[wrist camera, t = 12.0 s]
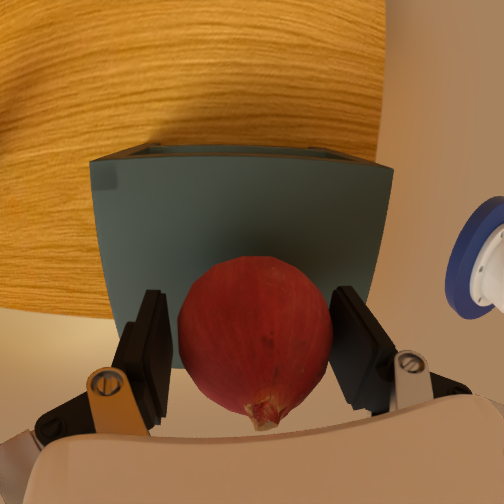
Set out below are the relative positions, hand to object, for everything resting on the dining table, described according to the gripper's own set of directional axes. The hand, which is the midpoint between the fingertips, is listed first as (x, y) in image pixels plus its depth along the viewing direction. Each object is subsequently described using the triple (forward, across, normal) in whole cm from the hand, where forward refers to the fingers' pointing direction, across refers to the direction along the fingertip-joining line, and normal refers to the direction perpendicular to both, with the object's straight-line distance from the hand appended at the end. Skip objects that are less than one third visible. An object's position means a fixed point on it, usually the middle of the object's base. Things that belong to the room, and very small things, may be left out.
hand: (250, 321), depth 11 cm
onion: (+3, 0, 0) cm, 3 cm away
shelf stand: (+13, 0, 0) cm, 13 cm away
